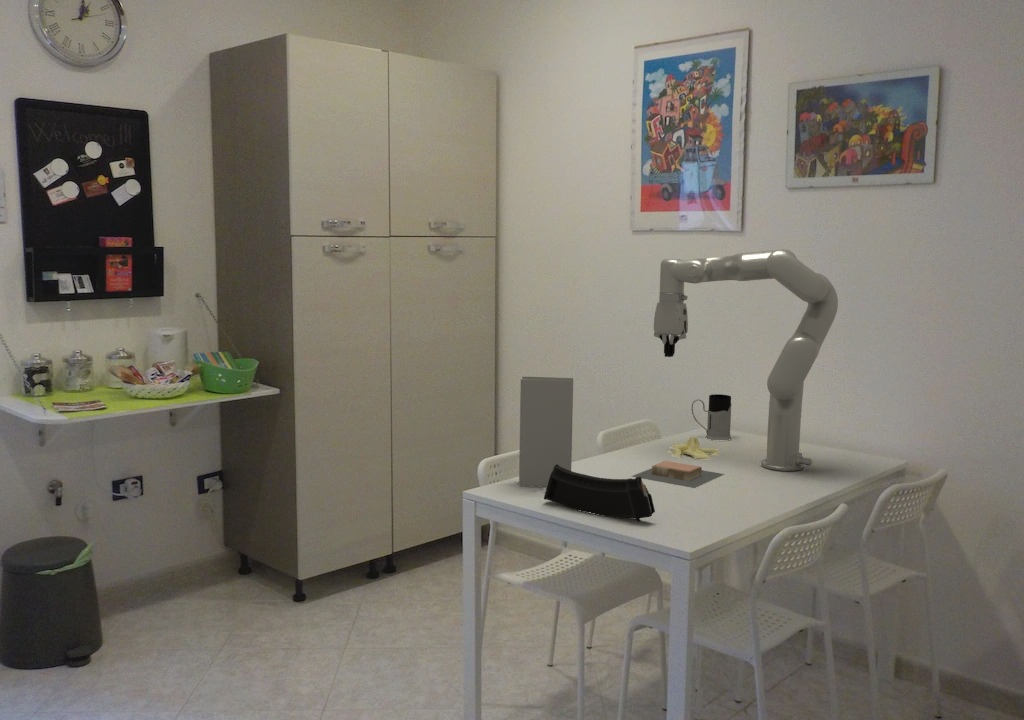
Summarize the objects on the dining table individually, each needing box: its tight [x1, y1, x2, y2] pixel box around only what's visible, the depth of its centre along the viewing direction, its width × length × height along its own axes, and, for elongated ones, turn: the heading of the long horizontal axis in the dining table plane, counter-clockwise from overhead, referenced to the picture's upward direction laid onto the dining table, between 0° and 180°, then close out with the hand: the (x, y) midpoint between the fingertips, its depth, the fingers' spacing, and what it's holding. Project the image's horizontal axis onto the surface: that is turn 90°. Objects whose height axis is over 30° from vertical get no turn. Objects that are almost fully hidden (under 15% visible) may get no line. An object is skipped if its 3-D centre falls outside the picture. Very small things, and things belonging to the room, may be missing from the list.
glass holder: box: [691, 393, 732, 441], centre depth 326 cm, size 9×14×15 cm, turn 92°
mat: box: [631, 467, 725, 489], centre depth 273 cm, size 20×20×1 cm
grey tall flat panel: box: [518, 376, 574, 488], centre depth 260 cm, size 14×6×30 cm, turn 84°
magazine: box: [543, 465, 656, 523], centre depth 235 cm, size 17×3×30 cm
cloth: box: [667, 436, 721, 460], centre depth 303 cm, size 22×19×6 cm
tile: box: [651, 460, 703, 481], centre depth 273 cm, size 3×8×12 cm
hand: (669, 356), depth 296 cm, fingers closed
